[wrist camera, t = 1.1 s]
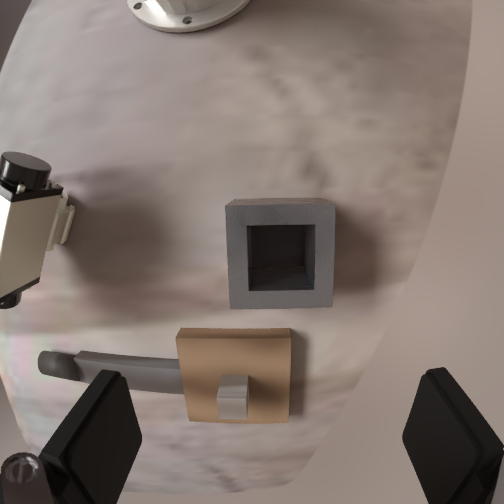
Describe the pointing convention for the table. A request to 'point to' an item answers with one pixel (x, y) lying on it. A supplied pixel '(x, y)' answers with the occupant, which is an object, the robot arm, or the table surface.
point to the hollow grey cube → (282, 277)
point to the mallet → (202, 373)
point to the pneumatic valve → (28, 222)
